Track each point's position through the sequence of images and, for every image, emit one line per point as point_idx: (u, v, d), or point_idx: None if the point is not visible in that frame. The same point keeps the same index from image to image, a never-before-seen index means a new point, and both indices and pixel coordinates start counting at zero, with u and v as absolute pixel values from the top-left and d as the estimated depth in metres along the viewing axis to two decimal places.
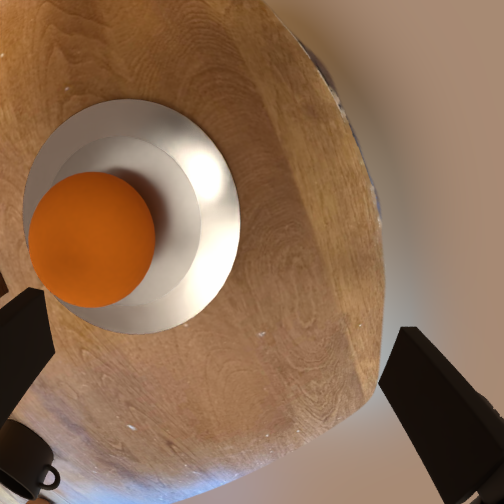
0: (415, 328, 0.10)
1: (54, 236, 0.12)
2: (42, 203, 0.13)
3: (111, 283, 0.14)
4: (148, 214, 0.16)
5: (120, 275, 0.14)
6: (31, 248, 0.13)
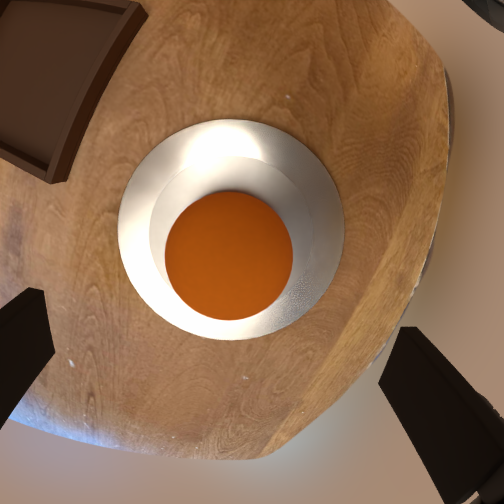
0: (415, 328, 0.10)
1: (241, 262, 0.15)
2: (240, 215, 0.16)
3: (238, 317, 0.17)
4: None
5: (248, 316, 0.18)
6: (200, 240, 0.15)
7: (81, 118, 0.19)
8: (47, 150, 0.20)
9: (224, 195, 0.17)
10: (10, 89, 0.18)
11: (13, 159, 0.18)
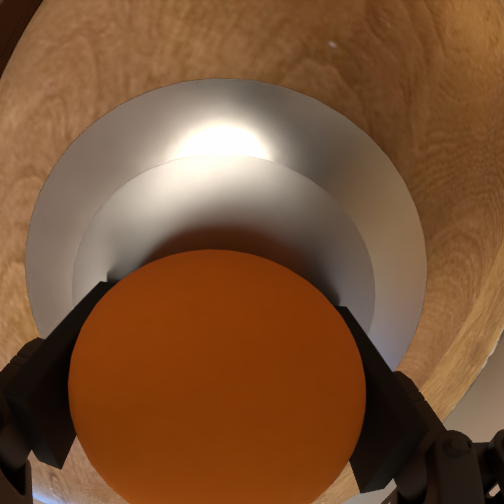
0: (345, 307, 0.11)
1: (250, 498, 0.04)
2: (242, 365, 0.04)
3: None
4: None
5: None
6: (123, 438, 0.04)
7: None
8: None
9: (194, 275, 0.06)
10: None
11: None
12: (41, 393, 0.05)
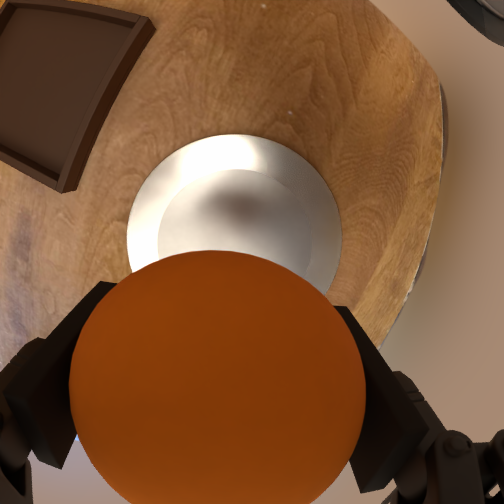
0: (345, 307, 0.11)
1: (250, 498, 0.04)
2: (243, 365, 0.05)
3: None
4: None
5: None
6: (124, 437, 0.04)
7: (91, 130, 0.20)
8: (57, 159, 0.21)
9: (195, 276, 0.06)
10: (19, 98, 0.19)
11: (24, 168, 0.19)
12: (41, 393, 0.05)
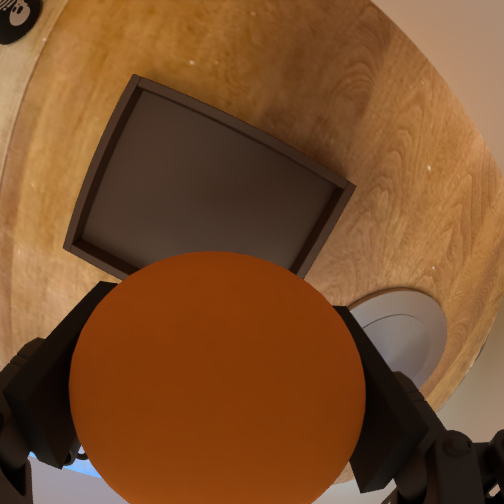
0: (345, 308, 0.11)
1: (250, 499, 0.04)
2: (242, 367, 0.05)
3: None
4: None
5: None
6: (124, 439, 0.04)
7: None
8: None
9: (194, 277, 0.06)
10: (181, 231, 0.25)
11: None
12: (41, 393, 0.05)
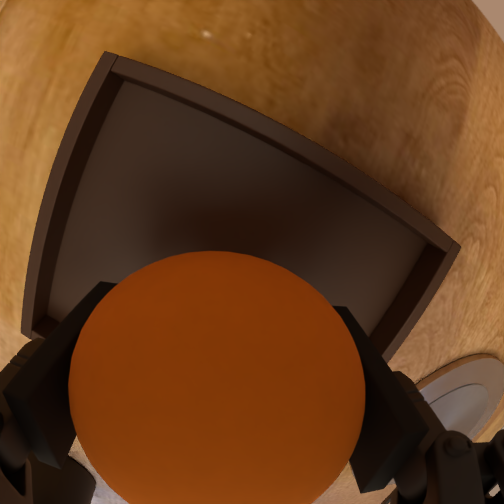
0: (345, 307, 0.11)
1: (250, 499, 0.04)
2: (242, 367, 0.05)
3: None
4: None
5: None
6: (123, 439, 0.04)
7: None
8: None
9: (194, 277, 0.06)
10: None
11: None
12: (41, 393, 0.05)
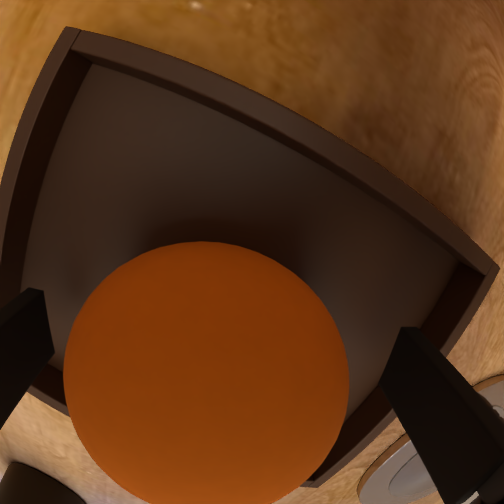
0: (415, 328, 0.10)
1: (218, 473, 0.04)
2: (213, 338, 0.05)
3: None
4: None
5: None
6: (103, 403, 0.04)
7: None
8: None
9: (180, 259, 0.06)
10: None
11: None
12: None
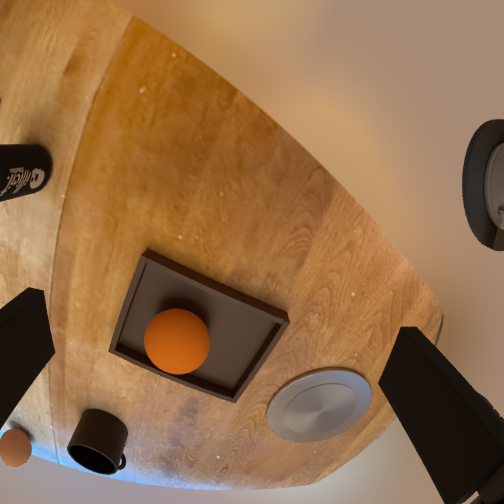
0: (415, 328, 0.10)
1: (164, 342, 0.31)
2: (170, 321, 0.32)
3: (168, 370, 0.32)
4: (204, 359, 0.34)
5: (174, 371, 0.32)
6: (152, 329, 0.32)
7: None
8: (224, 380, 0.42)
9: (172, 310, 0.34)
10: None
11: (206, 391, 0.40)
12: None
